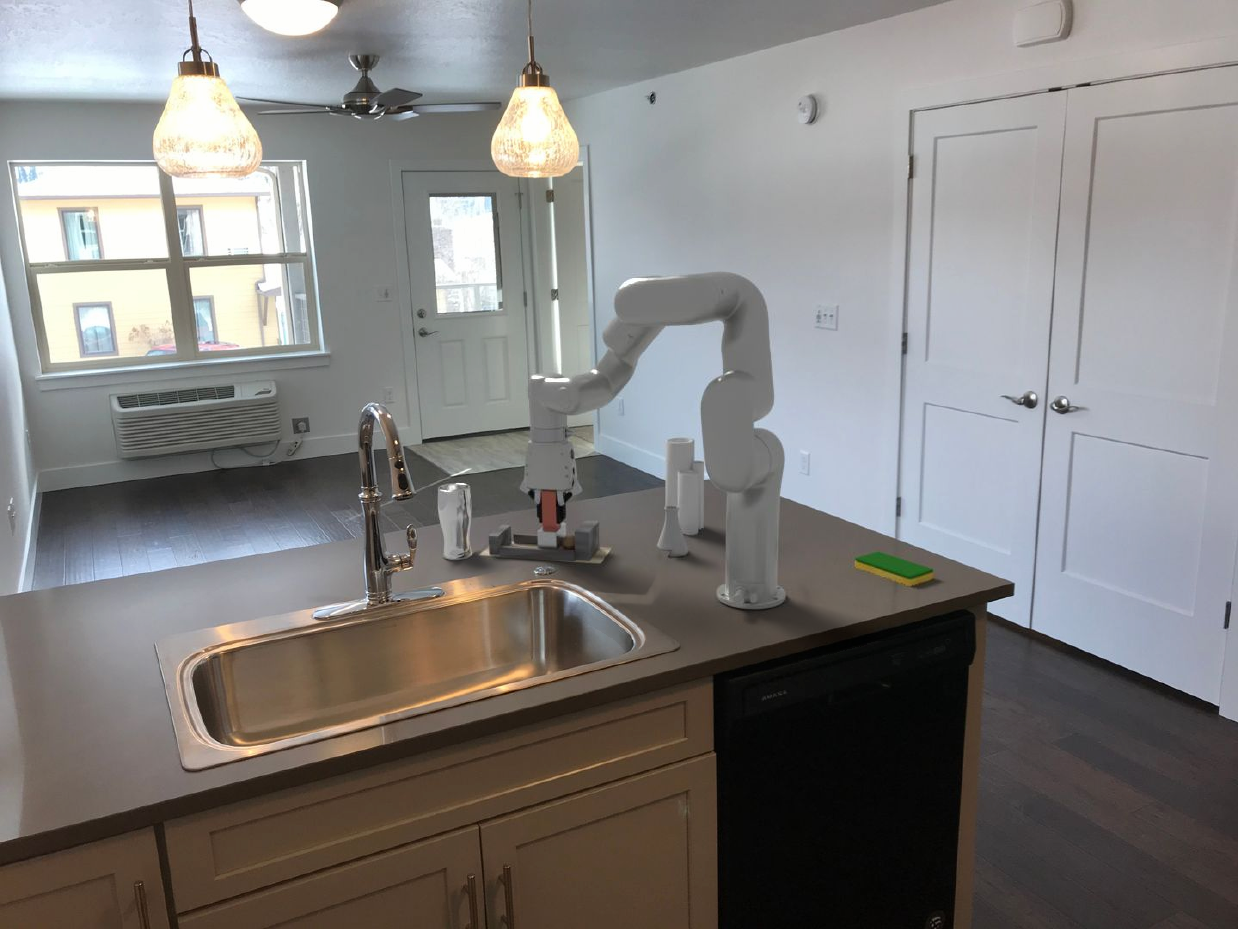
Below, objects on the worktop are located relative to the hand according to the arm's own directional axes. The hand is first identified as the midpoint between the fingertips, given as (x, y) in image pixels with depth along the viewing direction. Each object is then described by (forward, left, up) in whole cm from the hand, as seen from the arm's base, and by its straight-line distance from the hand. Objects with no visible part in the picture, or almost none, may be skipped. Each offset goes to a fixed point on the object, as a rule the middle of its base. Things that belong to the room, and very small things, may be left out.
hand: (551, 520), depth 199 cm
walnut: (0, -4, -7) cm, 8 cm away
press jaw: (0, 0, -6) cm, 6 cm away
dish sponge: (+5, -69, -9) cm, 69 cm away
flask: (+9, -24, -9) cm, 27 cm away
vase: (+27, -24, -8) cm, 37 cm away
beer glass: (-2, +20, -8) cm, 22 cm away
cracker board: (0, +1, -8) cm, 8 cm away
